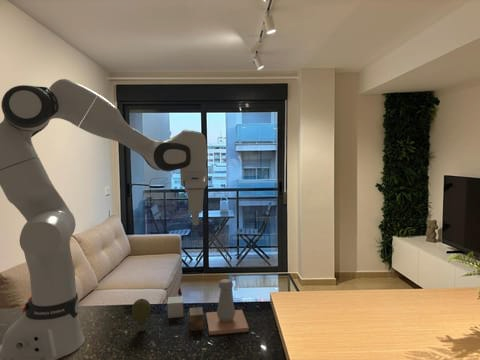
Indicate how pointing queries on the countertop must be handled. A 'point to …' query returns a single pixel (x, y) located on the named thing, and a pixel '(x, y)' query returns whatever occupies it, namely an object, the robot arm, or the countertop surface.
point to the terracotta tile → (222, 328)
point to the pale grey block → (175, 307)
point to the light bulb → (141, 313)
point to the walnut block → (196, 319)
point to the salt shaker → (225, 302)
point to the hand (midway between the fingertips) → (194, 221)
